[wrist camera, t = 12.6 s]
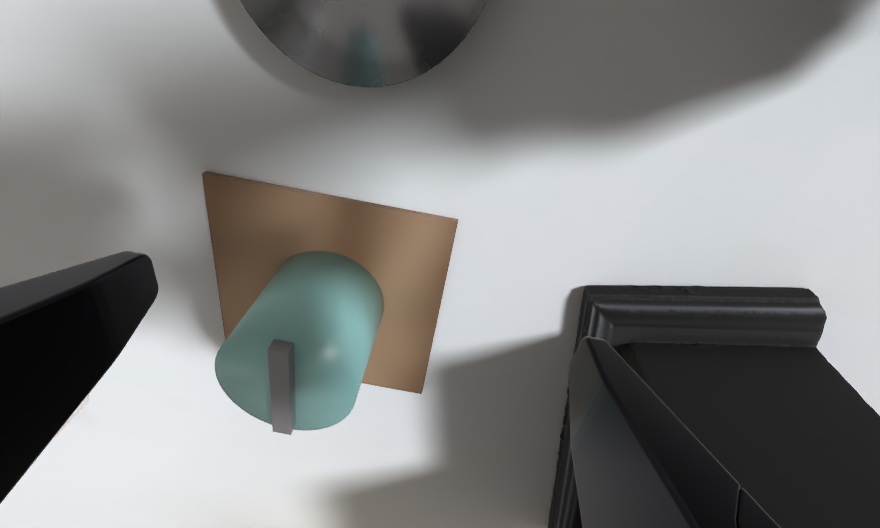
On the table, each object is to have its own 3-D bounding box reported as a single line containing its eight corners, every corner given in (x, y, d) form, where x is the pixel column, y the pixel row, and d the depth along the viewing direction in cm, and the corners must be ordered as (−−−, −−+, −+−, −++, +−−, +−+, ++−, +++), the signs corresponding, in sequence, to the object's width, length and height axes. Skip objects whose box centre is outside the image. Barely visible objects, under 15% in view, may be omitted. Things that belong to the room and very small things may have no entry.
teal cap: (379, 349, 25) (348, 452, 20) (276, 329, 25) (215, 427, 19) (389, 263, 22) (356, 356, 16) (271, 240, 22) (197, 327, 16)
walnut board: (458, 219, 21) (457, 222, 20) (422, 390, 27) (421, 393, 27) (205, 171, 20) (202, 173, 20) (230, 354, 27) (228, 358, 27)
